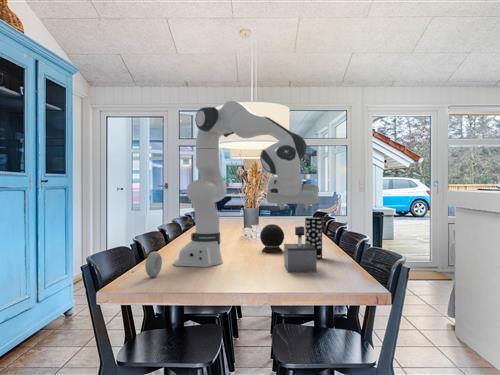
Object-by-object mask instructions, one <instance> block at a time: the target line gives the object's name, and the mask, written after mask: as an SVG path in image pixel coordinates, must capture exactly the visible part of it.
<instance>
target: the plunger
mask: <svg viewBox="0 0 500 375" xmlns="http://www.w3.org/2000/svg"><path fill="white" fill-rule="evenodd" d="M294 235H295V236H297V244H298V247H302V244H303V240H302V239H303V236H305V226H297V225H296V226H294Z"/></svg>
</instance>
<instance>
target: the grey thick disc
mask: <svg viewBox="0 0 500 375" xmlns="http://www.w3.org/2000/svg"><path fill="white" fill-rule="evenodd" d="M144 266H145V268H144V269H145V272H146V274H147V276H148V277H150V278H156V277H157V276H158V275H159V274H160V272H161V271H162V270H161V269H162V266H163V260H162V256H161V254H160V253H159V252H158V251H151V252H150V253H149V254H148V255H147V257H146V260H145V265H144Z"/></svg>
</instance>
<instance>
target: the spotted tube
mask: <svg viewBox="0 0 500 375" xmlns="http://www.w3.org/2000/svg"><path fill="white" fill-rule="evenodd" d="M304 225H305V226H304V227H305V235H304V237H305V238H304V239H305V240H304V244H312V245H313V246H314V247H316V248H317V261H318V260H319V261H320V260H322V259H323V218H322V217H317V216H316V217H315V216H314V217H313V216H312V217H311V216H310V217H309V216H308V217H305V222H304Z"/></svg>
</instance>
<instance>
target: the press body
mask: <svg viewBox="0 0 500 375" xmlns="http://www.w3.org/2000/svg"><path fill="white" fill-rule="evenodd" d="M283 248H284V250H283V256H284V258H283V260H284V261H283V264H284V265H283V266H284V268H285V270H286V272H287V273H317V266H318V265H317V261H318V260H317V248H316V247H314V246H313V245H312V244H305V243H302V247H298V243H284V244H283Z"/></svg>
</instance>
